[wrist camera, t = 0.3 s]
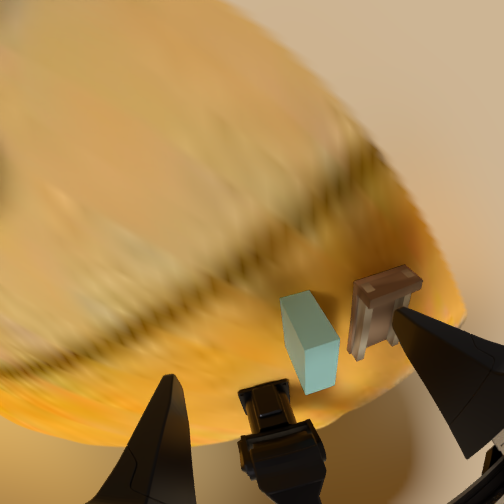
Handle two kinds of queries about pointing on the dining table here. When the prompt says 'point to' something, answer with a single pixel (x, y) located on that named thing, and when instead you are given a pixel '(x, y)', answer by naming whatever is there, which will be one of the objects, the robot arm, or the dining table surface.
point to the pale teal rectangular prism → (310, 341)
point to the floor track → (379, 307)
